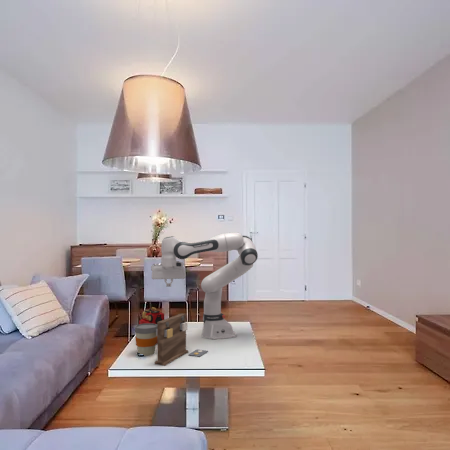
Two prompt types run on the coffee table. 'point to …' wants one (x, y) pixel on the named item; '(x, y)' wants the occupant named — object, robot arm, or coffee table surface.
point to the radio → (151, 316)
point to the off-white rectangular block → (183, 326)
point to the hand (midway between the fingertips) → (168, 286)
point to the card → (198, 353)
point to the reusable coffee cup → (146, 338)
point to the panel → (171, 340)
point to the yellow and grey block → (167, 332)
